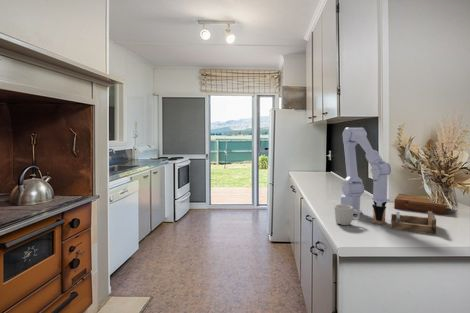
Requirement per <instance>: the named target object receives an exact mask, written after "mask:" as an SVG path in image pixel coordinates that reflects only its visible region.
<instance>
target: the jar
mask: <svg viewBox="0 0 470 313" xmlns="http://www.w3.org/2000/svg"><path fill="white" fill-rule="evenodd" d="M382 206H383V205H382ZM386 209H387V208H386ZM386 209H385V210H384V213H383V217H382V221H377V220H376V217H375V211H374V209H372V210H373V211H372V212H373V213H372V214H373V215H372V222H373V224H375V225H385V224H386Z"/></svg>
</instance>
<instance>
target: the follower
mask: <svg viewBox="0 0 470 313" xmlns="http://www.w3.org/2000/svg"><path fill="white" fill-rule="evenodd" d="M395 214H396V221H395V222H400V215H401V214H400V212H398V211H397V212H396V213H395Z"/></svg>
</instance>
